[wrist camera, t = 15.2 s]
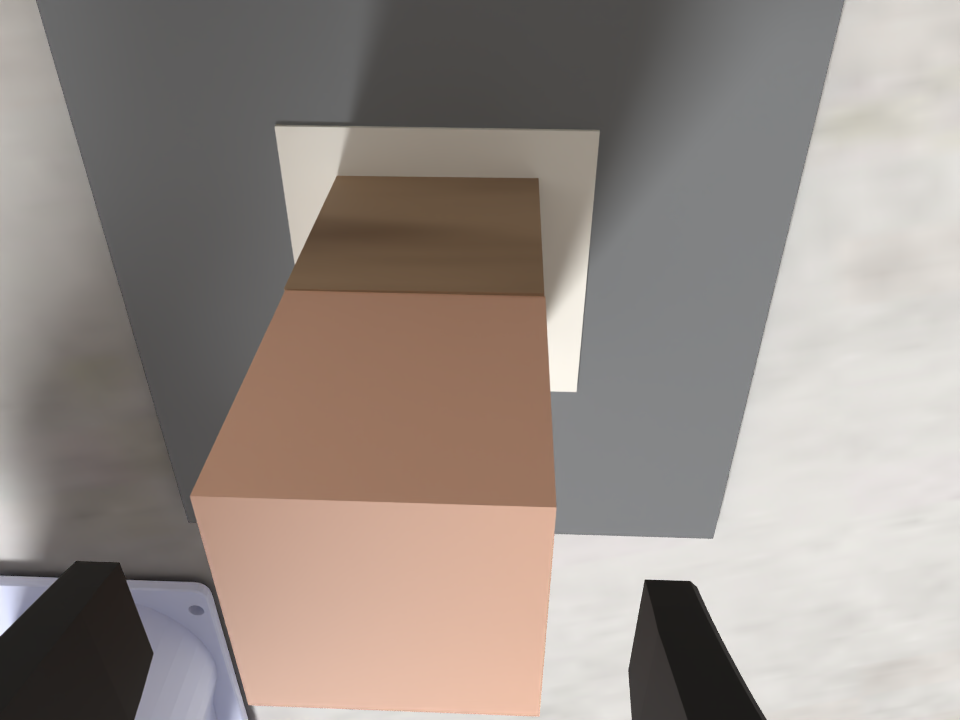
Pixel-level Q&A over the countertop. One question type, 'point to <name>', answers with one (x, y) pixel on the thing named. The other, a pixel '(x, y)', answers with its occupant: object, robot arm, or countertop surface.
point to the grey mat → (466, 153)
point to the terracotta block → (388, 504)
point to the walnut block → (425, 237)
